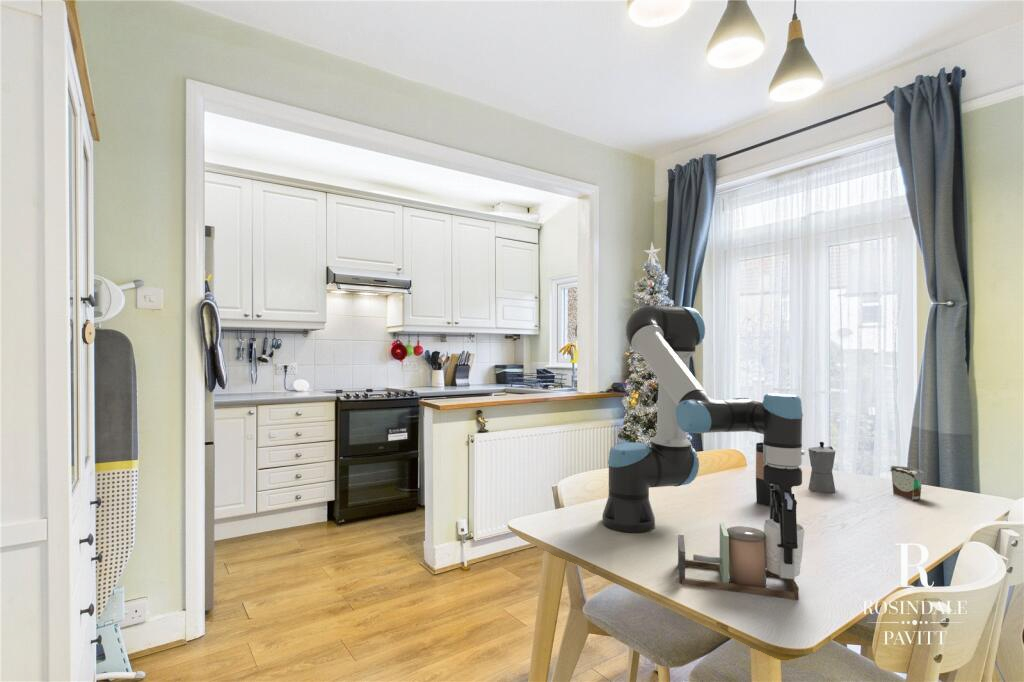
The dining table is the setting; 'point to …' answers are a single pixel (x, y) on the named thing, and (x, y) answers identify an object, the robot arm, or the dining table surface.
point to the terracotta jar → (747, 556)
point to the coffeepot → (822, 469)
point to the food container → (907, 482)
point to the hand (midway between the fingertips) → (782, 569)
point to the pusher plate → (723, 554)
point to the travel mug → (761, 478)
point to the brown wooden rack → (727, 586)
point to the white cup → (774, 551)
